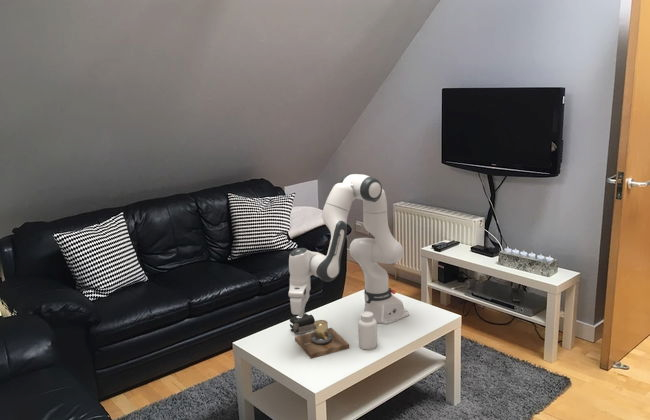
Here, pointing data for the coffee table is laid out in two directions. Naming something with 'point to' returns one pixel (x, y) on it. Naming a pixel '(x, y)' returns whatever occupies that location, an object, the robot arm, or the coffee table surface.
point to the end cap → (302, 320)
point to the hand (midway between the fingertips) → (301, 316)
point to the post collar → (321, 340)
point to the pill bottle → (367, 331)
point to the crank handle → (318, 327)
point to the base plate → (320, 350)
